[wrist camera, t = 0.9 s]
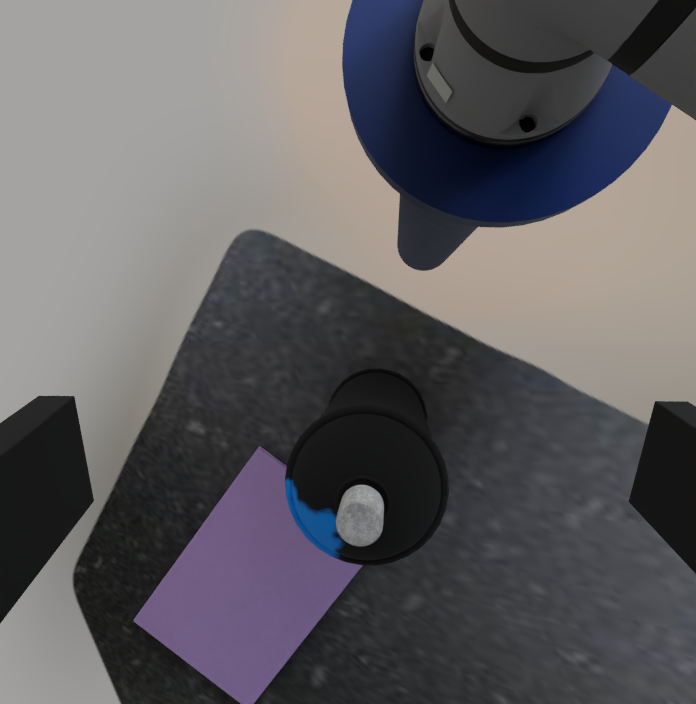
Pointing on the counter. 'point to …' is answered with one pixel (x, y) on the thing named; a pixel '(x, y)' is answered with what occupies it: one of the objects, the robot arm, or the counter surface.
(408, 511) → the aerosol can
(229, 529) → the towel
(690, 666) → the counter surface
